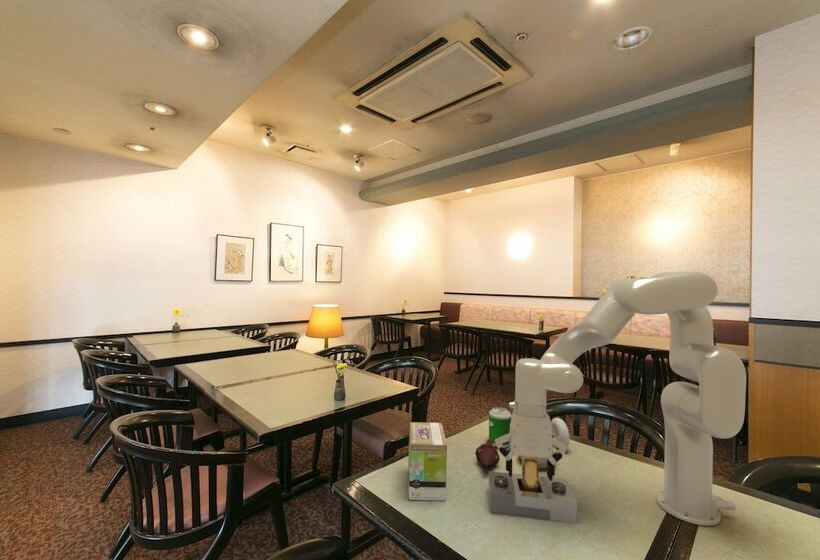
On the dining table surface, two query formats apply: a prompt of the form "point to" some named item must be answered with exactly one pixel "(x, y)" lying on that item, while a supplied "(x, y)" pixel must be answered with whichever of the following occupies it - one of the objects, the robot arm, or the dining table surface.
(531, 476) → the pin
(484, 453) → the icecream
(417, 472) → the tea box
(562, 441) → the donut
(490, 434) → the soda can
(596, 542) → the dining table surface
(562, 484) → the grey rectangular block
